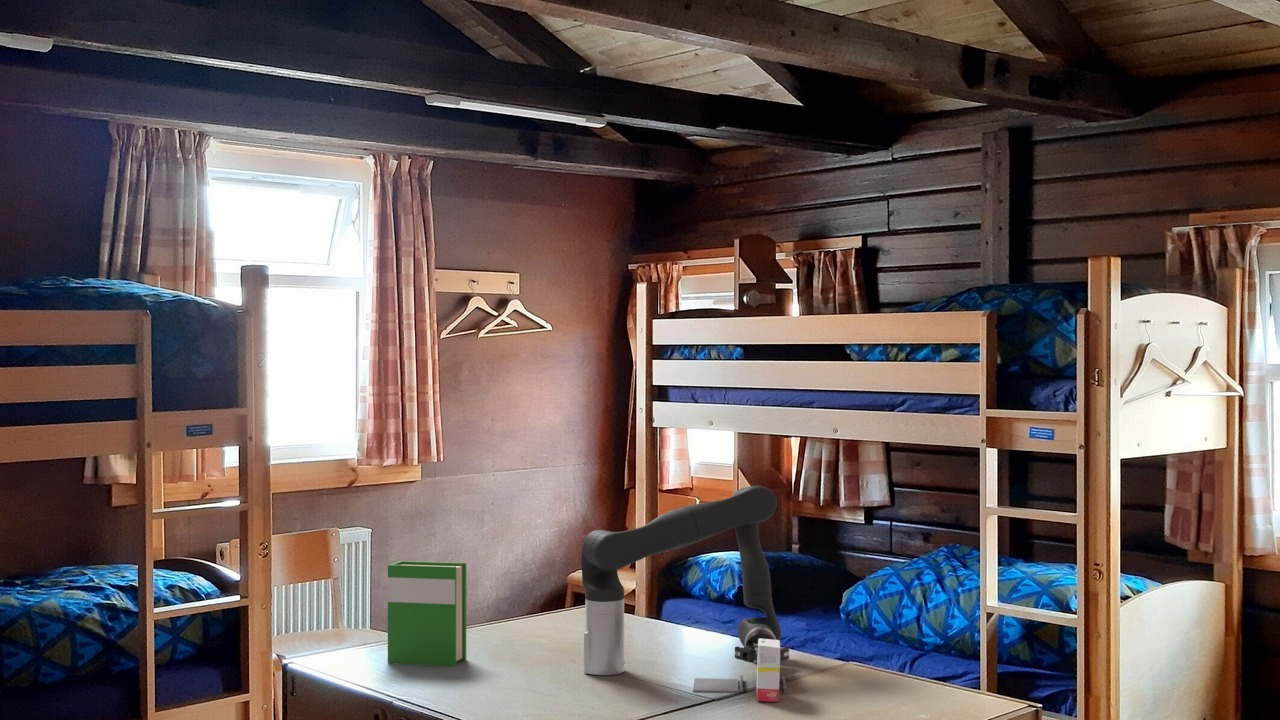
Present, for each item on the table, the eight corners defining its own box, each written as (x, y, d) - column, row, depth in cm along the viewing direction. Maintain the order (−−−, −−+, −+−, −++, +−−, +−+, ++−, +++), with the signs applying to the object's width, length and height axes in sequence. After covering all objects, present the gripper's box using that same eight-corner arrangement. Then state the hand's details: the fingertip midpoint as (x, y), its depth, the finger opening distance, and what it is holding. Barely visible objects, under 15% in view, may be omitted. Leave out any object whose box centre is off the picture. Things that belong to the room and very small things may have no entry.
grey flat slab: (693, 691, 263) (693, 686, 263) (694, 679, 274) (694, 674, 274) (786, 693, 262) (786, 687, 262) (784, 681, 273) (784, 675, 273)
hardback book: (466, 659, 296) (466, 562, 297) (455, 666, 289) (455, 567, 289) (400, 656, 300) (400, 560, 301) (387, 663, 293) (387, 565, 293)
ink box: (779, 703, 254) (781, 647, 254) (756, 701, 254) (757, 646, 254) (778, 692, 262) (780, 638, 263) (756, 691, 263) (757, 637, 263)
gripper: (732, 628, 281) (732, 643, 263) (789, 629, 280) (792, 644, 262) (732, 661, 280) (732, 678, 263) (789, 661, 279) (793, 678, 262)
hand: (762, 661), depth 263 cm, fingers closed
